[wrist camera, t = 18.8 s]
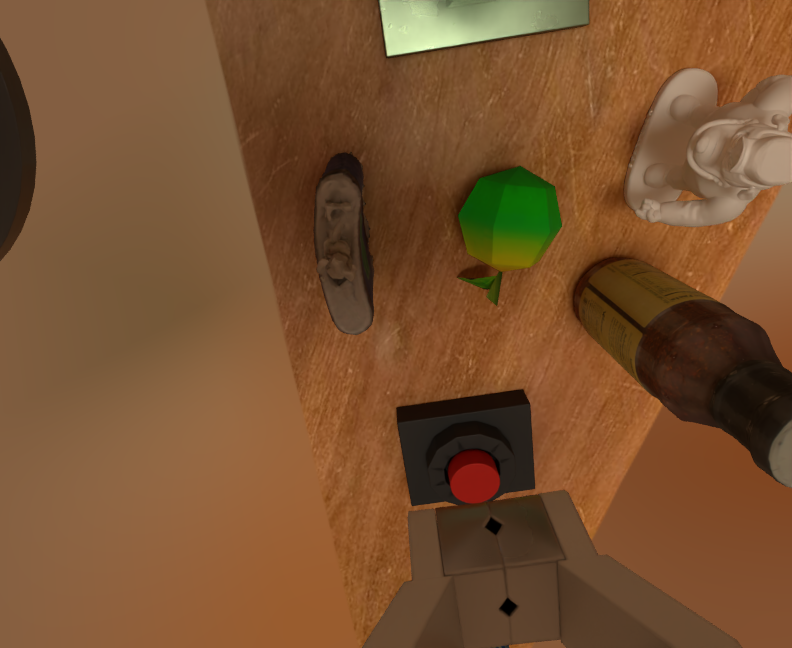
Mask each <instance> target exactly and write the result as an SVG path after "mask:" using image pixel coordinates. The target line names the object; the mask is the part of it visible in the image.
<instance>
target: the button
mask: <svg viewBox="0 0 792 648" xmlns="http://www.w3.org/2000/svg"><path fill="white" fill-rule="evenodd" d="M448 476H449V482H450V487H451V491H452V493H453V494H454V495H455V497H456V498H458V499H459V500H461V501H463V502H466V503H481V502H484V501H486V500H488V499H490V498H491V497H493V496H494V495H495V493H496V492H497V491H498V489H499V486H500V477H499V474H498V471H497V468H496V465H495V462H494V460H493V458H492V457H491V456H490V455H489V454H488V453H486V452H484V451H482V450H477V449H469V450H465V451H462V452H460V453H458V454H457V455H455V456H454V457H453V458H452V460H451V461H450V463H449V466H448Z"/></svg>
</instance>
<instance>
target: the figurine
mask: <svg viewBox="0 0 792 648" xmlns="http://www.w3.org/2000/svg"><path fill="white" fill-rule="evenodd" d="M717 97H718V89H717V83H716V80H715V78H714V77H713V76H712V75H711V74H710V73H709V72H707V71H705V70H702V69H698V68H688V69H682V70H680V71H678V72H676V73H674V74H673V75H672V76H671V77H670V78H669V79H668V80H667V81H666V82H665V83H664V84H663V86H662V87H661V89H660V90H659V92H658V94H657V95H656V97H655V99H654V101H653V104H652V106H651V108H650V110H649V112H648V115H647V118H646V119H645V121H644V122H645V123H644V125H643V128H642V130H641V133H640V136H639V139H638V140H637V144H636V146H635V150H634V152H633V155H632V156H631V160H630V163H629V165H628V170H627V173H626V177H625V182H624V198H625V201H626V203H627V205H628V206H629V207H630V208H631V209H633V210H634V211H635V214H636V215H637V217H640V218H641V219H644V220H648V221H649V222H657V221H658V222H661V223H665V224H668V225H672V226H685V227H701V226H709V225H717V224H721V223H724V222H728V221H731V220H733V219H735V218H736V217H738V216H739V215H740V214H741V213H742V212H743V211H744V209H745V208H746V206H747V204H748V203H749V202H751V201H752V200H753V199H754V198H755V197H756V196H757V194H758V193H759V192H760V191H761V190H765V189H769V188H771V187H773V186H776V185H784V184H788V183H790V182H792V134H791V133H790V132H788V131H787V130H788V123H789V122H790V120H789V118H788V117H789V116H790V115H791V114H792V76H790V75H776V76H771V77H768V78H767V79H764V80H762V81H761V82H759V83H758V84H757V85H756V87H755V88H754V89H752V90H751V91H749V92H748V93H747V94H746V95H745V96H744V97H743V98H742V100H741V101H740V102H732V103H728V104H725V105H724V106H722V107H718V106H716V105H717ZM682 190H686V191H691V192H692V193H693V194H694V195H696V196H698V197H700V198H704V199H703V200H691V201H676V200H677V198H678V197H679V195H680V194H681V192H682Z"/></svg>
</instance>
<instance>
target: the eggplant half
mask: <svg viewBox="0 0 792 648" xmlns="http://www.w3.org/2000/svg"><path fill="white" fill-rule="evenodd" d="M362 170H363V166H362V164H361V163H360V162H359V160H358V159H357V158H356V157H354V156H353V154H352V152H351V153H349V154H348V153H345V152H344V153H338V154H336V155H335V156H333V157H331V159H330V161H329V162H328V165H327V167H326V170H325V172H324V174H323V175H322V177H321V178H320V180H319V183H318V185H317V187H316V195H315V209H314V244H315V254H316V258H317V272H318V273H319V278H320V281H321V285H322V289H323V293H324V296H325V300H326V303H327V306H328V309H329V312H330V315H331V318H332V321H333V322H334V323H335V325H336V327H337V328H338V330H340V331H341V332H343V333H346V334H353V335H358V334H360V333H362V332H364V331H366V330H367V329H368V328H369V327H370V326H371V325H372V321H373V316H374V306H373V277H374V268H373V256H372V255H370V252H369V244H368V243H369V239H368V238H369V237H370V235H369V230H370V228H369V226H368V221H367V219H365V218H366V217H365V215H364V213H363V206H364V205H365V204H366V203H365V202H364V200H363V197H362V190H363V187H364V185H363V177H364V176H363V171H362Z"/></svg>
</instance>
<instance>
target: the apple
mask: <svg viewBox="0 0 792 648" xmlns="http://www.w3.org/2000/svg"><path fill="white" fill-rule="evenodd" d="M458 218H459V222H460V226H461V230H462V233H463V237H464V241H465V245H466V249H467V253H468V254H469V255H471V256H473V257H474V258H476V259H478V260H480V261H482V262H484V263H486V264H487V265H489V266H491V267H493V268H495V269H497V270H498V271H499V273H498V275H497V276H491V277H484V278H478V279H474V278H459V279H461V280H464V281H466V282H468V283H471V284H473V285H476V286H478V287H481V288H483V289H490V290H489V292H488V294H487V296H486V297H487V298H488V299H489V300H490V301H492V302H493V303H494V304H495V305H496V306H497V304H498V298H499V291H500V285H501V279H502V272H504V271H510V270H517V269H523V268H529V267H531V266H533V265H534V264H536V263H537V262H539V261H540V259H541V258H542V256H543V255H544V253H545V252H546V250H547V248H548V247H549V245H550V244H551V242H552V241H553V239H554V238H555V236H556V235H557V233H558V232H559V230H560V228H561V227H562V223H561V218H560V212H559V207H558V201H557V196H556V190H555V186H553V185H552V184H550V183H548V182H546V181H545V180H543V179H541V178H540V177H538V176H536V175H535V174H533V173H531V172H530V171H528V170H526V169H525V168H523V167H521V166H518V167H515V168H512V169H509V170H505V171H502V172H499V173H495V174H492V175H489V176H485V177H482V178H479V180H478V182H477V183H476V185H475V187H474V189H473V190H472V192H471V194H470V195H469V197H468V199H467V201H466V202H465V204H464V206H463V208H462V209H461V211H460V213H459V214H458Z"/></svg>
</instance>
